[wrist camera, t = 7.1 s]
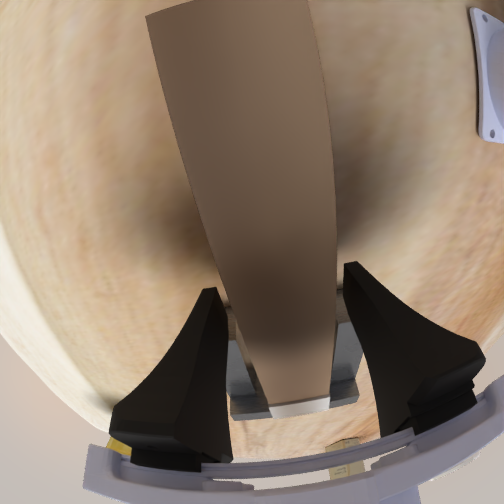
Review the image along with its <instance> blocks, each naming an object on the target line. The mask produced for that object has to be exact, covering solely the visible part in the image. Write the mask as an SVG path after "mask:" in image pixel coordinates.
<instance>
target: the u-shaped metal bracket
mask: <svg viewBox="0 0 504 504" xmlns="http://www.w3.org/2000/svg"><path fill="white" fill-rule="evenodd" d="M225 311H226V313H227V316H228V328H229V343H228V358H227V373H226V391H227V393H228V395H229V396H230V415H231V417H232V418H233V419H234V421H240V420H253V419H264V418H273V417H272V414H271V412H270V410H269V407H268V401H267V398H266V396H265V393H264V391H263V388H262V386H261V383H260V381H259V378H258V376H257V373H256V371H255V368H254V366H253V363H252V361H251V358H250V355H249V353H248V350H247V348H246V345H245V342H244V340H243V337H242V334H241V332H240V329H239V326H238V324H237V321H236V318H235V316H234V313H233V310H232V307H226V308H225ZM362 355H363V350H362V347H361V345H360V342H359V340H358V337H357V335H356V332H355V330H354V328H353V325H352V323H351V320H350V318H349V315H348V312H347V309H346V306H345V302H344V298H343V289H341V290H336V315H335V333H334V347H333V359H332V370H331V380H330V389H329V393H330V403H329V408H334V407H339V406H343V405H347V404H351V403H355V402H357V400H358V398H359V391H358V387H357V384H356V380H355V377H356V374H357V371H358V368H359V365H360V361H361V358H362Z"/></svg>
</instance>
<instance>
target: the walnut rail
mask: <svg viewBox="0 0 504 504" xmlns="http://www.w3.org/2000/svg"><path fill="white" fill-rule="evenodd" d="M145 17H146V22H147V27H148V31H149V35H150V40H151V44H152V48H153V52H154V56H155V61H156V65H157V69H158V73H159V77H160V80H161V84H162V88H163V92H164V96H165V99H166V103H167V107H168V111H169V114H170V118H171V121H172V125H173V129H174V132H175V136H176V139H177V142H178V146H179V149H180V153H181V156H182V160H183V163H184V166H185V170H186V173H187V176H188V179H189V183H190V186H191V189H192V192H193V195H194V199H195V202H196V205H197V208H198V211H199V214H200V217H201V220H202V224H203V227H204V230H205V233H206V236H207V239H208V242H209V245H210V248H211V251H212V254H213V256H214V259H215V262H216V265H217V268H218V271H219V274H220V277H221V280H222V282H223V285H224V288H225V291H226V294H227V296H228V299H229V302H230V305H231V307H232V310H233V313H234V316H235V318H236V321H237V324H238V326H239V329H240V332H241V334H242V337H243V340H244V342H245V345H246V348H247V350H248V353H249V355H250V358H251V361H252V363H253V366H254V368H255V371H256V373H257V376H258V378H259V381H260V383H261V386H262V388H263V391H264V393H265V396H266V398H267V401H268V407H269V410H270V412H271V414H272V417H273V419H280V418H287V417H294V416H300V415H306V414H311V413H316V412H321V411H326V410H328V409H329V403H330V393H329V389H330V380H331V370H332V359H333V347H334V333H335V315H336V289H337V225H336V199H335V181H334V167H333V154H332V144H331V134H330V125H329V116H328V108H327V101H326V94H325V87H324V81H323V75H322V69H321V63H320V57H319V52H318V47H317V42H316V37H315V33H314V28H313V23H312V19H311V15H310V11H309V7H308V3H307V0H194V1H190V2H187V3H183V4H180V5H176V6H173V7H170V8H167V9H164V10H161V11H158V12H155V13H152V14H150V15H147V16H145Z"/></svg>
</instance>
